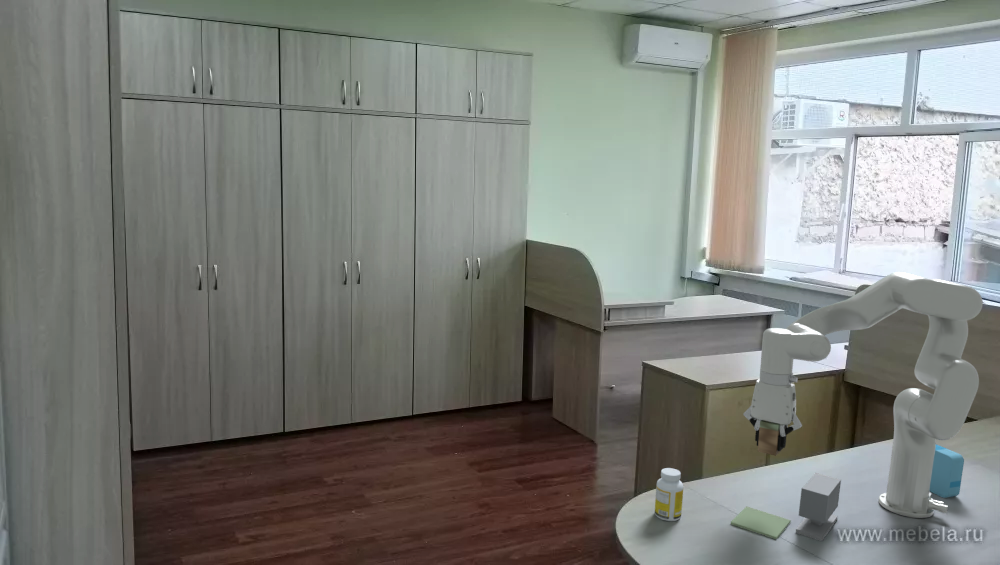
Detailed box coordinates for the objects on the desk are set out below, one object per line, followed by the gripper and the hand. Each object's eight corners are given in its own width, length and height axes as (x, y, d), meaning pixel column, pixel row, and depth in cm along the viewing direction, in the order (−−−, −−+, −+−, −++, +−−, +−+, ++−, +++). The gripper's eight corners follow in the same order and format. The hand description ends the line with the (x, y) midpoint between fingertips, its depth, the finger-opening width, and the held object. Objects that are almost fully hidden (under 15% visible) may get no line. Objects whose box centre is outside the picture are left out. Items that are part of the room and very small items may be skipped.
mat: (790, 522, 181) (790, 520, 181) (776, 539, 172) (776, 537, 172) (746, 508, 187) (746, 506, 187) (730, 524, 179) (730, 521, 179)
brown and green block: (781, 450, 187) (783, 420, 186) (775, 455, 184) (778, 425, 183) (763, 446, 190) (765, 416, 189) (757, 451, 187) (760, 421, 185)
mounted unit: (837, 519, 183) (842, 478, 181) (821, 541, 172) (827, 497, 170) (811, 512, 187) (816, 471, 185) (795, 532, 176) (800, 489, 174)
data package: (959, 498, 198) (965, 456, 197) (947, 500, 197) (953, 457, 195) (920, 479, 210) (926, 439, 208) (908, 481, 208) (914, 441, 206)
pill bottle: (682, 512, 184) (685, 469, 182) (679, 524, 178) (683, 479, 176) (656, 507, 186) (659, 464, 184) (652, 519, 180) (656, 474, 178)
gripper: (814, 381, 182) (808, 451, 185) (747, 368, 192) (742, 435, 195) (806, 388, 176) (799, 460, 179) (736, 374, 186) (731, 443, 189)
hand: (769, 446), depth 187 cm, fingers closed on brown and green block, 4 cm apart
